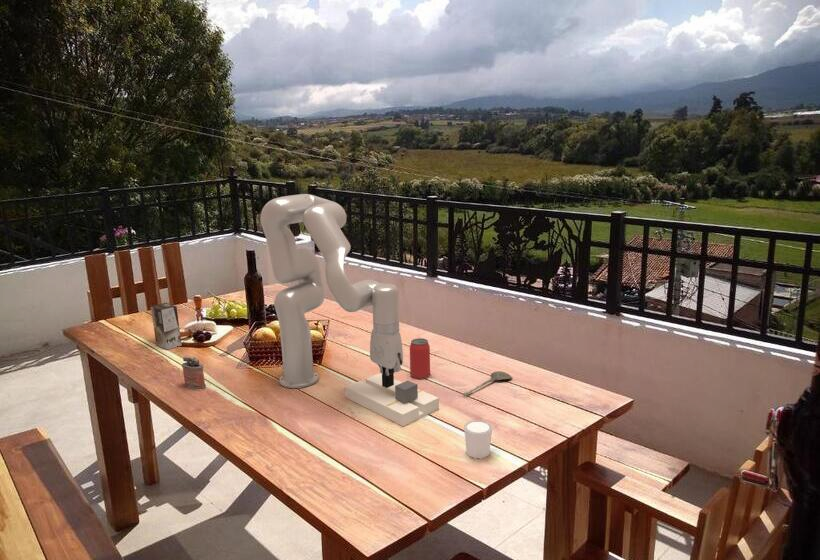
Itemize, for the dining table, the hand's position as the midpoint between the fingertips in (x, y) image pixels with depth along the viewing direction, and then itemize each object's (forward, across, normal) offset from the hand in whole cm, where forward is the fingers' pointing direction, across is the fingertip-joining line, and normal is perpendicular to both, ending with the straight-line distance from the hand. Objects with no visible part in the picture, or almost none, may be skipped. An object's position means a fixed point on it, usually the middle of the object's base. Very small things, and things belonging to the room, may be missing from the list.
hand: (388, 385), depth 166 cm
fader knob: (+4, +8, 0) cm, 9 cm away
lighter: (+6, -54, -36) cm, 65 cm away
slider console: (+5, +1, 0) cm, 5 cm away
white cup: (+5, +37, -3) cm, 37 cm away
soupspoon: (+6, +13, +29) cm, 33 cm away
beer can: (+6, -7, +20) cm, 22 cm away
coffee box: (+6, -100, -28) cm, 104 cm away
